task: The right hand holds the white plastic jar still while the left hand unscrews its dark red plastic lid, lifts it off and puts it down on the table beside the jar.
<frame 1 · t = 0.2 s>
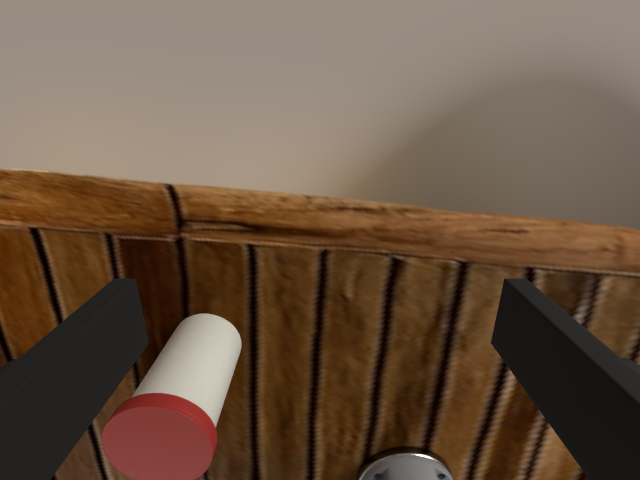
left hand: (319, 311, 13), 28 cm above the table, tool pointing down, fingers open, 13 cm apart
lid: (159, 445, 33), point 15 cm above the table, screwed on, not yet turned
jar: (208, 342, 47), on the table
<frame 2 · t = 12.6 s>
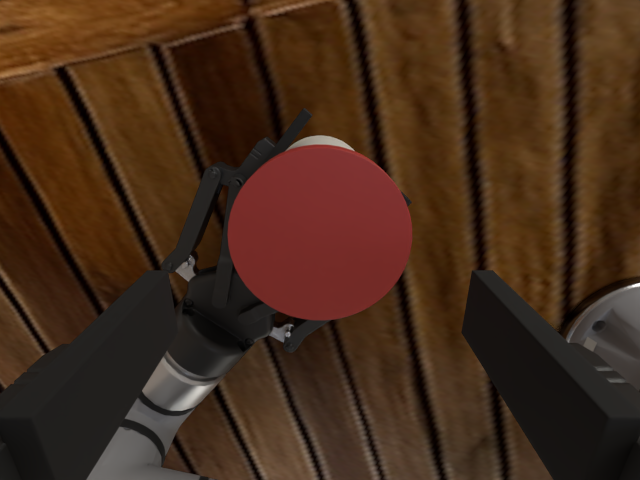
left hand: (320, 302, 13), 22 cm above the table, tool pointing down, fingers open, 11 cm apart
right hand: (358, 155, 27), fingers closed on jar, 9 cm apart
lid: (319, 239, 20), point 15 cm above the table, screwed on, not yet turned
jar: (319, 183, 34), on the table, touching right hand
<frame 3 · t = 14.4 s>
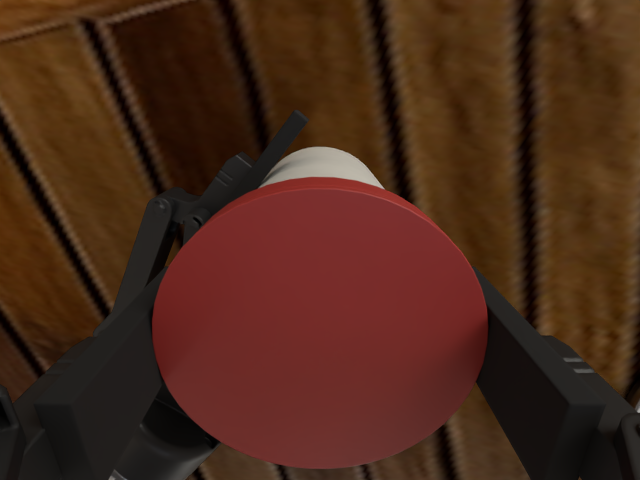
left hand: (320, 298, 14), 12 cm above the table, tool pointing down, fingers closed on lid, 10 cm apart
lid: (320, 344, 11), point 15 cm above the table, screwed on, not yet turned, touching left hand
jar: (320, 210, 25), on the table, touching right hand
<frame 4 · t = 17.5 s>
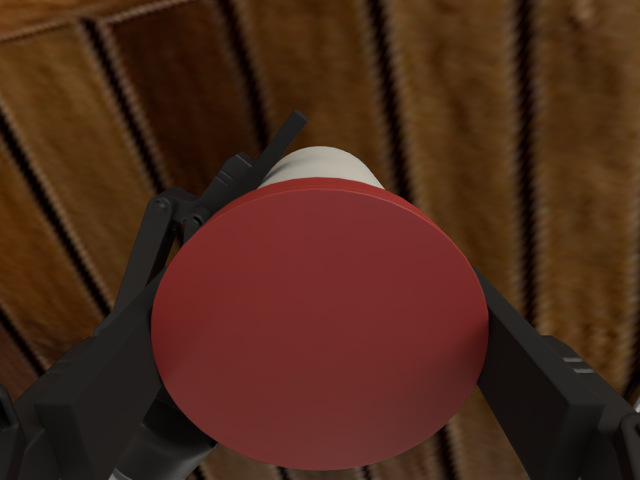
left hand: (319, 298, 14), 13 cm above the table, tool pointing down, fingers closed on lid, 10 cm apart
lid: (319, 346, 11), point 15 cm above the table, turned 89° so far, risen 0.2 cm, still on its thread, touching left hand
jar: (319, 209, 25), on the table, touching right hand
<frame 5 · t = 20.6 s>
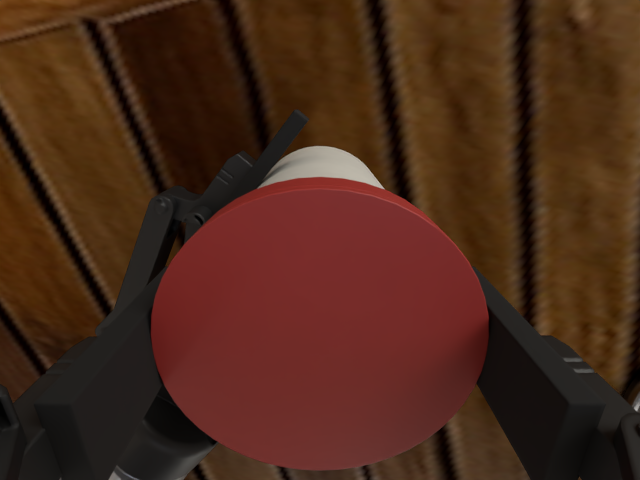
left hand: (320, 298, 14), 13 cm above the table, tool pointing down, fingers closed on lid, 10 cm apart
lid: (319, 346, 11), point 16 cm above the table, turned 177° so far, risen 0.3 cm, still on its thread, touching left hand
jar: (319, 209, 26), on the table, touching right hand
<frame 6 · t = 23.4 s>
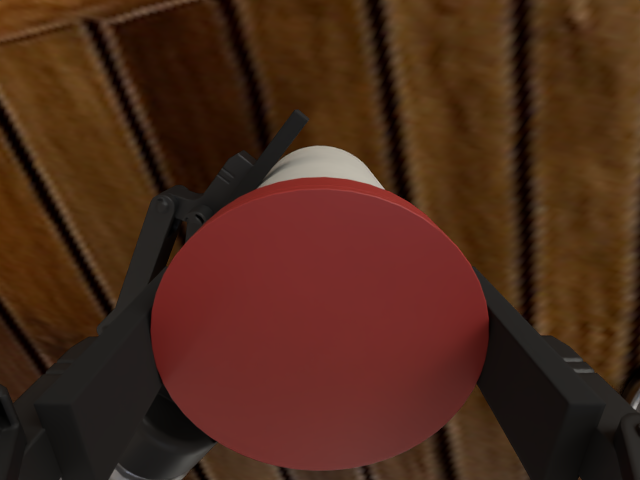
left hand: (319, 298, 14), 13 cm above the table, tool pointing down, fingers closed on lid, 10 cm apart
lid: (319, 346, 11), point 16 cm above the table, turned 266° so far, risen 0.5 cm, still on its thread, touching left hand
jar: (319, 208, 26), on the table, touching right hand
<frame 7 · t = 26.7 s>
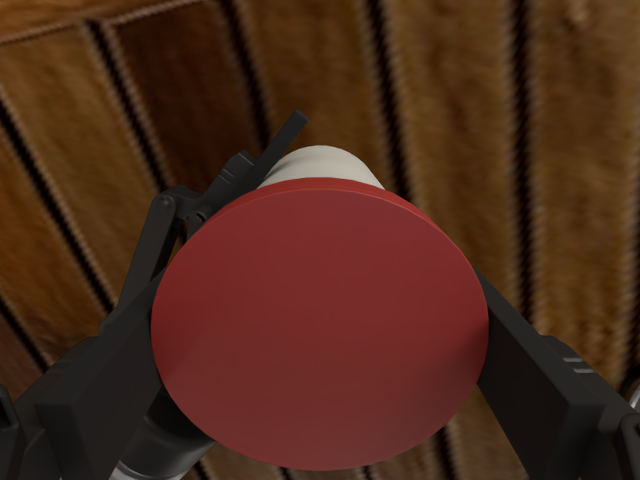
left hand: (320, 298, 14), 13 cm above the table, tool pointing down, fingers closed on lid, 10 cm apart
lid: (319, 346, 11), point 16 cm above the table, turned 354° so far, risen 0.6 cm, still on its thread, touching left hand
jar: (319, 208, 26), on the table, touching right hand
when the left hand's fingers open (0 cm above the table, at t = 35.8 s): lid drops 2 cm, point 1 cm above the table.
when the right hand's fingers open (7 cm above the table, at t = 37.5 s): jar stays where it is, on the table.
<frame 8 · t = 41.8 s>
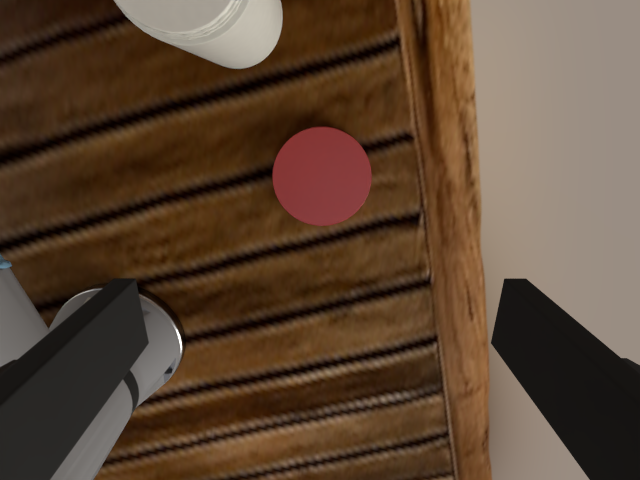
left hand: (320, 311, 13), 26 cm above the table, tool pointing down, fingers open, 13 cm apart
lid: (321, 178, 36), point 1 cm above the table, off its thread
jar: (233, 14, 32), on the table
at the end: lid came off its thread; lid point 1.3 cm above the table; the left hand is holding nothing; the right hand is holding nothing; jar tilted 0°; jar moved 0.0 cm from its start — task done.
